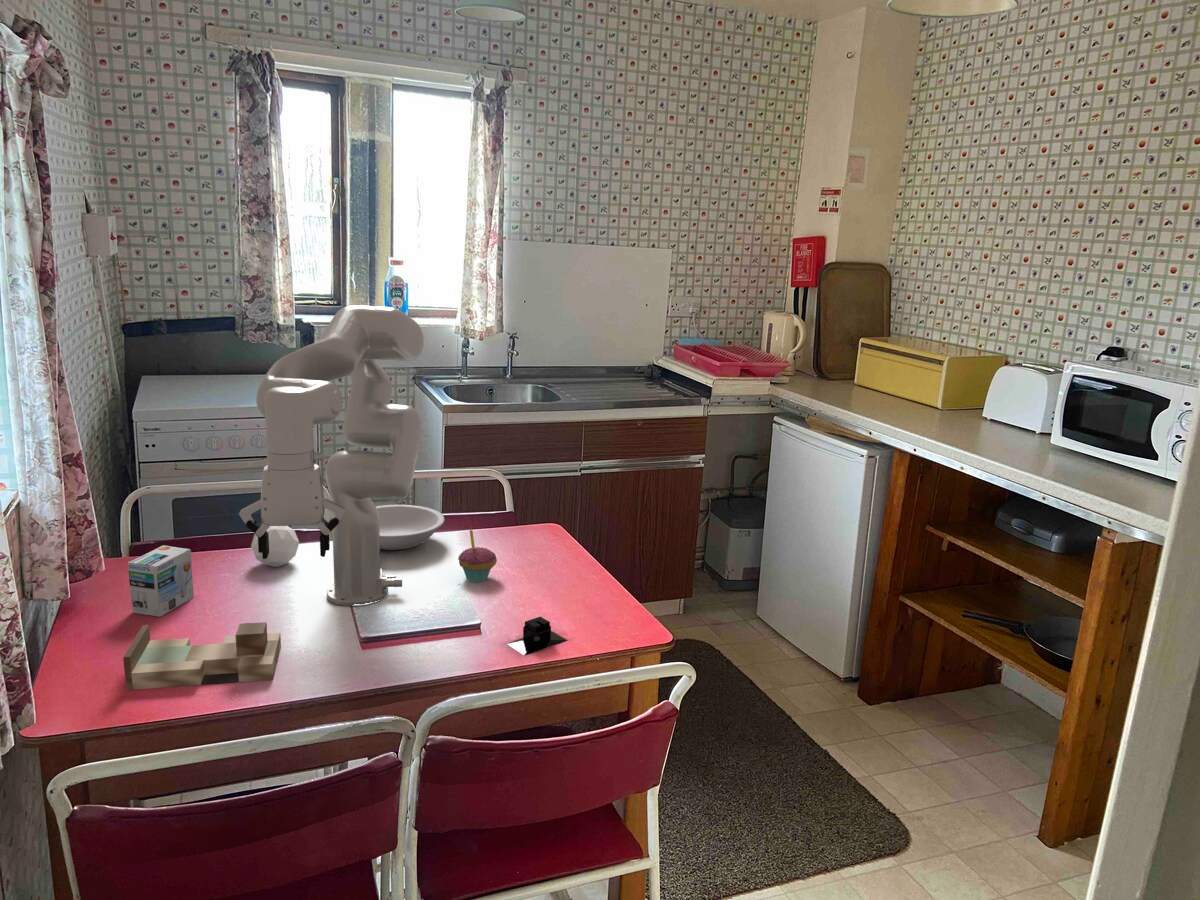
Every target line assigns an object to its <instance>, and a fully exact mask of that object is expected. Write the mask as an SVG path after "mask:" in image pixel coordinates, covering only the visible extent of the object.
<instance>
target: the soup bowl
mask: <svg viewBox="0 0 1200 900" xmlns="http://www.w3.org/2000/svg"><path fill="white" fill-rule="evenodd" d="M375 506H376V505H375ZM376 508H377V510H378V513H379V520H380V550H387V551H388V550H390V551H392V550H393V551H395V550H396V551H397V550H404V549H405V550H406V549H409V548H411V549H412V548H414V547H416V546H420V545H421V544H423V543H425V542H426V541H427V540H429V538H431V537H432V536H433V535H434V533H435V532H436V530H437V529H440V527H442V526H443V525H444V523H445V517H444V515H443V513H441V512H439V511H438V510H436V509H432V508H430V507H426V506H421V505H411V504H386V505H377V506H376Z"/></svg>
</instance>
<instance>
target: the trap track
mask: <svg viewBox="0 0 1200 900" xmlns="http://www.w3.org/2000/svg"><path fill="white" fill-rule="evenodd" d="M281 638H282V637H281V632H272V633H271V632H270V633H268V632H267V640H268V643H267V647H266V650H265V653H264V654H261V655H246V656H237V651H236V634H235V635H233V634H232V635H225V636H224V637H223V641H222V643H211V644H210V643H209V644H191V642H190V641H191V640H190V637H185V638H168V639H151V634H150V625H149V624H142V626H141V627H140V629H139V631H138V632H137V634H136V635H135V638H133V640H132V642H131V643H130V645H129V647H128V649H127V650H126V652H125V653H124V655H123V657H122V658H123V667H124V668H123V670H124V678H125V679H124V680H125V690H126V691H130V690H133V691H134V690H144V689H161V688H174V687H175V688H176V687H188V686H202V685H215V684H230V683H231V684H233V683H244V682H261V681H273V680H274V677H275V674H276V669H277V665H278V662H279V657H280V654H281V648H282V639H281Z"/></svg>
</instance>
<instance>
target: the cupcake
mask: <svg viewBox="0 0 1200 900" xmlns="http://www.w3.org/2000/svg"><path fill="white" fill-rule="evenodd" d="M469 536H470V543H471V547H469V548H466V549H465V550H463V551H462V552H461V553H460V554H459V555H458V558H457V561H458V563H459V566H460V567H461V568H462V570H463V572H464V575H465V578H466V580H467V581H469V582H471V583H482V582H486V581H487V580H488V578H489V575H490V572H491V570H492V569H493V567H494V566H495V565H496V564H497V560H498V559H497V555H496V554H495V552H494V551H492V550H491V549H489V548H487V547H482V546H481V547H479V546H477V547H475V546H476V545H475V539H474V530H473V529H472V527H471V526H469Z"/></svg>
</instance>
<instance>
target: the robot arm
mask: <svg viewBox="0 0 1200 900" xmlns="http://www.w3.org/2000/svg"><path fill="white" fill-rule="evenodd" d="M423 349H424V334H423V330H422V328H421V327H420V325H419V323H418V322H416V321H415V320H414V319H413V318H412V317H410V316H409V315H408V314H406V313H405V312H403V311H401V310H400V309H397V308H396V307H395V308H394V307H390V306H376V305H375V306H373V305H359V304H358V305H355V304H354V305H348V306H344V307H342V308H340V309H339V310H338V311H336V313H335V314H334V316H333V317H332V318H331V320H330V321H329V323H328V324H327V326H326V328H325V329H324V331H323V332H322V334H321V335H320V337H319V338H318V340H317V341H315V342H313V343H311V344H309V345H306V346H303V347H301V348H298V349H297V350H295V351H293V352H290V353H288V354H286V355H284V356H282V357H281V358H279V359H278V360H276V361H275V362H274V364H273V365H271V367H270V368H269V370H268V371H266V374H265V375H264V377H263V378H262V380H261V382H260V384H259V386H258V388H257V391H256V398H255V399H256V400H255V401H256V407H257V409H258V412H259V413H260V415H262V416H263V417H264V419H265V420H264V421H265V436H266V438H265V440H266V460H267V461H266V462H267V463H266V464H267V465H265V466H264V467H263V472H262V476H261V477H262V478H261V487H260V499H259V500H257V501H255V502H253V503H250V504H249V505H247V506H246V507H245V506H244V507H243V508H241V509H240V511H239V513H238V515H239V517H240V518H241V519H242V521H243V523H244V524H245V526H246V528H248V529H249V530H250V531H251V532H252V533H254V535H256V536H257V537H258V550H259V553H262V558H263V559H266V558H267V557H268V555H269V535H268V533H267V529H268V528H269V527H270V526H288V527H292V526H293V527H294V526H296V527H297V526H298V527H299V526H315V527H316V528H317V529H318V530H319V531H320V533H319V549H320V554H319V556H320V557H321V558H324V557H326V553H327V551H330V533H331V532H332V552H333V555H332V556H333V557H332V558H333V584H331V586H330V587H328V588H327V590H326V598H327V600H328V601H329V602H331V603H333V604H335V605H339V606H345V607H353V606H352V605H354V604H365V603H370V602H375V601H378V600H380V601H382V600H384V599H385V598H386V597H387V596H388V594H389V588H402V587H403V577H397V574H390V575H386V574H383V569H382V568H381V549H380V520H379V513H378V510H377V508H376V505H375V503H374V502H373V500H372V499H380V500H381V499H382V500H384V499H385V500H400V499H401V500H402V499H405V498H406V497H407V496H408V495H409V493H410V492H411V489H412V487H413V482H414V476H415V470H416V464H417V459H418V452H419V447H420V446H419V445H420V439H421V432H422V431H421V430H422V423H421V422H422V421H421V416H420V414H419V412H418V411H417V410H416V408H414V407H413V406H410V405H405V404H397V403H395V404H394V403H391V398H392V393H393V383H392V380H391V379H390V377H389V375H388V374H387V372H386V371H385V370H384V368H383V367H382V366H381V365H380V364H379V362H378V360H380V361H397V362H398V361H399V362H412V361H415V360H417V359H418V358H419V357H420V355H422V351H423ZM348 375H350V377H351V378H350V379H351V384H350V391H349V395H348V402H347V405H346V410H345V415H344V419H343V420H344V421H343V426H342V427H343V428H342V434H343V438H344V440H345V442H346V443H348V444H349V445H351V446H354V447H360V448H366V449H377V450H378V449H380V450H392V451H391V452H386V451H385V452H384V451H383V452H381V451H371V450H360V449H359V450H357V449H356V450H355V449H347V450H346V449H345V450H340V451H337V452H334V453H333V454H332V455H331V456H330V457H329V458H328V460H327V461H326V465H325V480H326V484H327V488H328V494H329V497H330V499H327V498H326V497H325V493H324V485H323V478H322V471H321V468H320V466H319V464H317V462H322V461H323V460H324V453H323V452H318V451H317V450H315V445H314V425H321V424H326V423H329V422H330V423H331V421H333V420H335V419H336V418H337V417H338V416H339V414H340V413H341V411H342V408H343V404H344V400H343V399H344V398H343V394H342V391H341V389H340V387H339V386H337V385H336V384H335V383H334V382H331V381H333V380H338V379H341V378H344V377H347V376H348ZM325 509H327V510H329V511H331V519H330V520H329V521H327V520H326V519H325V518H324V515H325ZM259 510H260V518H261V522H260V523H259V522H258V521H257V520H256V519H254V518H253V517H252V514H254V513H255V512H257V511H259ZM384 597H385V598H384ZM383 598H384V599H383ZM381 599H382V600H381ZM378 602H379V601H378Z"/></svg>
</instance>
